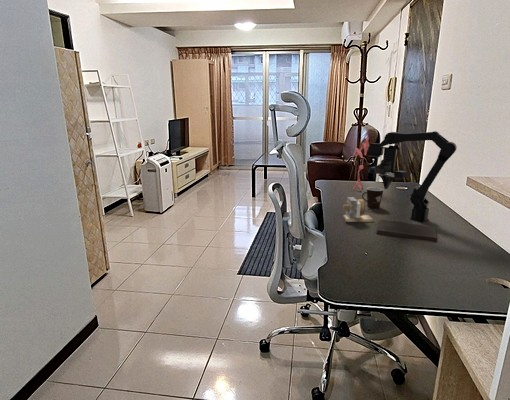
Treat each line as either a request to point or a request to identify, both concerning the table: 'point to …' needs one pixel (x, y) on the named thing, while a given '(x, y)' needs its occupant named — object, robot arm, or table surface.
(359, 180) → the figurine
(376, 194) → the coffee mug
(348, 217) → the base
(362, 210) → the tan egg-shaped dome
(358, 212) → the spacer
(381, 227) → the hardcover book
